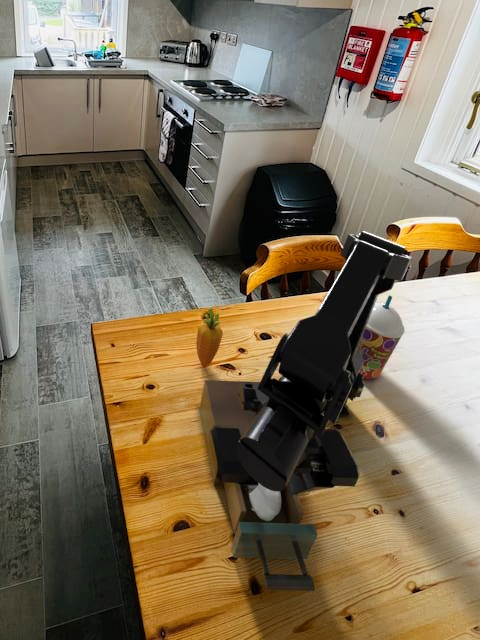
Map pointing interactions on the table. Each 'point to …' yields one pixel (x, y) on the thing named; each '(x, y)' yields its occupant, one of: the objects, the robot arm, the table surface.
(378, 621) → the table surface
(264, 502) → the dumpling
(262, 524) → the drawer
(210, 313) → the carrot
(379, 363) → the smoothie
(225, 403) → the cabinet
